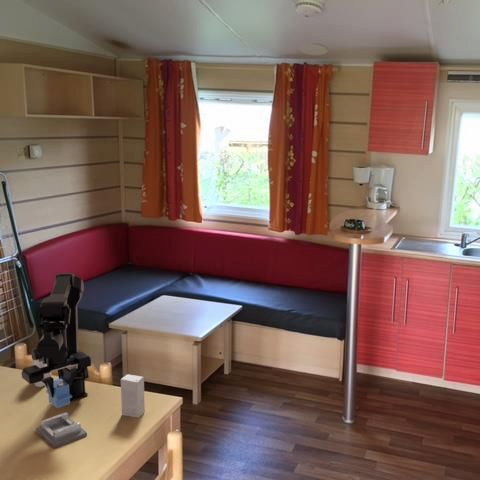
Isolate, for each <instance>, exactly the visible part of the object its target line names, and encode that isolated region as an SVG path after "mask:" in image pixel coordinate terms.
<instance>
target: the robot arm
mask: <svg viewBox="0 0 480 480" xmlns="http://www.w3.org/2000/svg"><path fill="white" fill-rule="evenodd" d="M52 288H53V289H52V291H51V293H50V295H49V296H47V297H45V298H44V299H43V300H42V302H41V303H40V304H39V308H38V315H37V326H36V329H37V331H42V332H43V333H42V336H41V338H40V339H39V341H38V343H37V346H36V348H33V349H31V350H30V351H31V352H30V353H31V358H32V361H33V360H39V362H41V361H43V364H47V366H46V367H42V368H39V367H38V366H36V365H33V364H32V365H31V366H26V367H24V368H23V369H22V370H21V378H22V379H23V380H25V381H26V382H27V383H28V384H30V385H34V384H35V383H37V382H40V381H42V382H43V383H44V384H45V386H44V387H45V388H46V390H48V392H49V394H50V396H51V397H52V398H53V396H54V381H55V380H54V378H53V377H52V375H51V376H50V373H51V374H52V373H53V372H56V371H57V374H58V375H57V376H58V379H62V380H64V381H65V382H66V383H68V384H69V394H70V395H72V398H70V402H72V401H75V400H78V399H82V398H84V397H87V396H88V395H89V394H88V393H87V392H86V385H85V384H86V380H87V379H90V376H89V375H90V373H89V367H91V366H92V364H93V363H92V358H91V356H89V355H87V354H86V353H85V352H83V351H81V350H80V349H79V321H78V316H79V315H78V304H79V303H80V301H81V300H82V297H83V293H84V291H85V284H84V281H83V279H82V278H81V277H80V276H77V275H75V274H74V273H71V272H68V273H67V272H66V273H65V272H63V273H62V272H59V273H56V276H55V278H54V286H53V287H52ZM49 394H48V395H49Z"/></svg>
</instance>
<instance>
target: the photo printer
mask: <svg viewBox="0 0 480 480" xmlns="http://www.w3.org/2000/svg"><path fill="white" fill-rule="evenodd" d="M33 365H36V366H38V367H39V368H42V367H46V366H47V364H43V361H41V362H39V360H33V359H32V366H33ZM50 376H51V377H52V372H51V373H50ZM43 386H44V387H46V386H45V384H44V383H43V382H42V381H40V382H37V383H34V387H36V388H44V387H43Z"/></svg>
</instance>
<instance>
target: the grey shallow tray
mask: <svg viewBox="0 0 480 480" xmlns="http://www.w3.org/2000/svg"><path fill="white" fill-rule="evenodd" d="M40 423H41V424H40V426H37V427H35V432H36V433H37V434H38V435H40V436H41V437H42V438H43V439H44V440H45V441H46V442H47V443H48V444H49V445H50V446H52V448H53V449H57V448H58V447H61V446H63V445H66V444H68V443H71V442H74V441H76V440H79V439H82V438H84V437H86V436H87V437H88V433H87V431H86V430H85V429H83V428H82V423H80V421H79V422H78V421H77V422H75V421H74V420H72V419H71V418H70V417H69V413H68V412H63V413H59V414H57V415H54V416H51V417H49V418H46V419H43V420H40Z"/></svg>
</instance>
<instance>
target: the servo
mask: <svg viewBox="0 0 480 480" xmlns="http://www.w3.org/2000/svg"><path fill="white" fill-rule="evenodd" d="M45 391H46V393H47V394H48V402H49V403H50V405H53V406H54V408H55V409H59V408H62V407H64V406H67V405H70V404H71V401H70V398H72V395H70V394H69V384H68V383H66V382H65V381H64V380H62V379H59V378H58V379H55V380H54V396H53V398H52V397H51V396H50V394H49V392H48V390H47V389H46V390H45Z"/></svg>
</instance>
